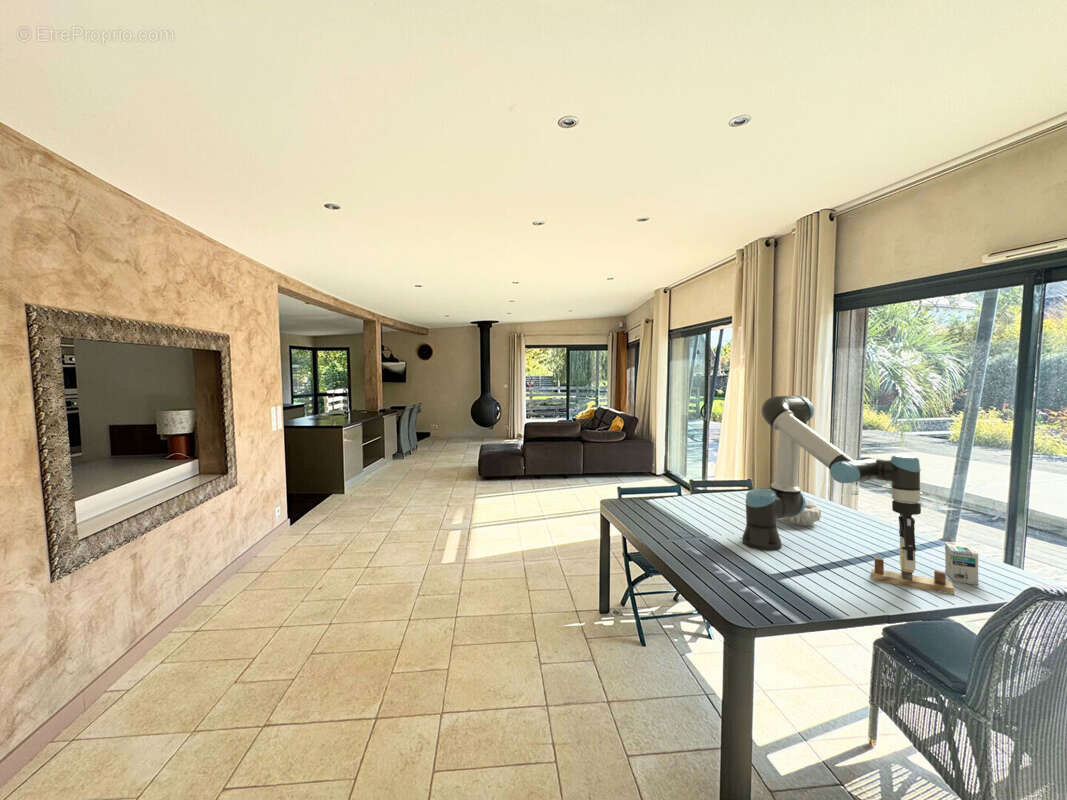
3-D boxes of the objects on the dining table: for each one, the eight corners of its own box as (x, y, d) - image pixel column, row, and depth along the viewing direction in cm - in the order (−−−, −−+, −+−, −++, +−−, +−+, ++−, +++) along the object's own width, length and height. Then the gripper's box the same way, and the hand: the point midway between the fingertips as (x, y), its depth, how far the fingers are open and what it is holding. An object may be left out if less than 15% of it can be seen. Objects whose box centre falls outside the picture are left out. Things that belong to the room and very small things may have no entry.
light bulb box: (979, 585, 149) (979, 553, 149) (952, 581, 153) (952, 550, 152) (969, 574, 158) (969, 544, 158) (944, 570, 162) (944, 541, 161)
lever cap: (902, 571, 150) (902, 550, 150) (899, 564, 156) (899, 543, 156) (913, 573, 148) (913, 551, 148) (911, 565, 154) (910, 545, 154)
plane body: (872, 579, 155) (872, 560, 155) (871, 573, 160) (871, 554, 160) (954, 594, 143) (954, 572, 143) (950, 587, 148) (950, 566, 148)
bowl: (832, 529, 210) (832, 508, 210) (789, 530, 210) (788, 509, 210) (806, 517, 231) (805, 498, 231) (766, 518, 231) (766, 499, 231)
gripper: (926, 510, 139) (927, 577, 139) (915, 494, 160) (916, 553, 160) (895, 507, 144) (897, 572, 144) (888, 492, 164) (890, 549, 164)
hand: (907, 562), depth 152 cm, fingers open, 13 cm apart
